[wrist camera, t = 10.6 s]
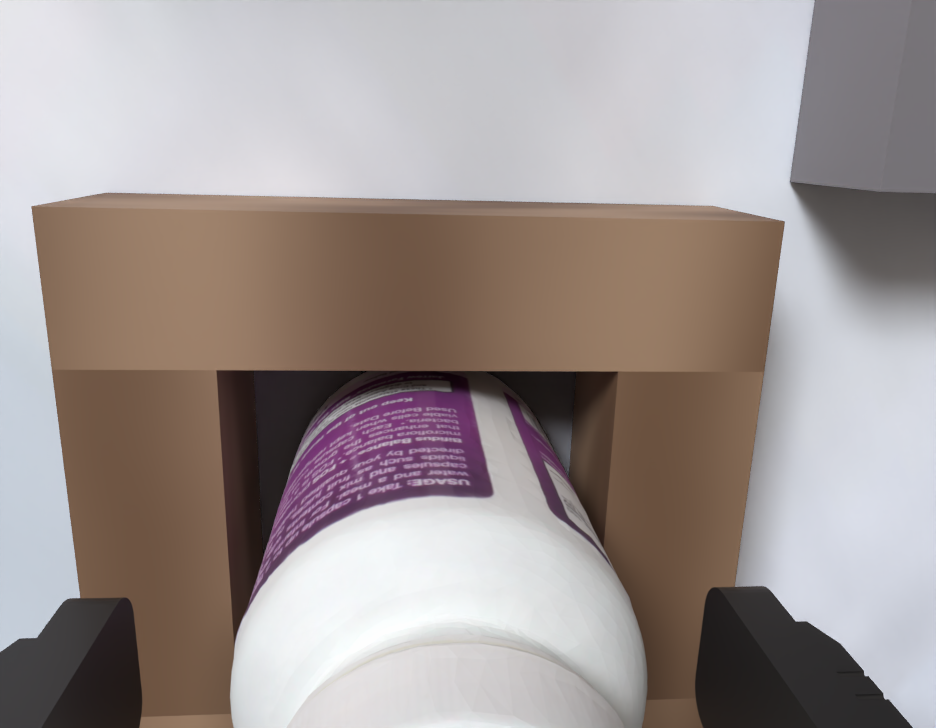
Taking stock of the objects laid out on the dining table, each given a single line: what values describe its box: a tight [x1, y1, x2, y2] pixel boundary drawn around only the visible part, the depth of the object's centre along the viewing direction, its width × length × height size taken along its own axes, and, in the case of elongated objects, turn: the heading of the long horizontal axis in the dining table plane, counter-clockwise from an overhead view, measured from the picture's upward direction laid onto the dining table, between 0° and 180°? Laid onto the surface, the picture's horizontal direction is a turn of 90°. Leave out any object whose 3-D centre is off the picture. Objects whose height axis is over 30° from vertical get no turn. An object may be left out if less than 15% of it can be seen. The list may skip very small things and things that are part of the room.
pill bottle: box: [230, 371, 647, 728], centre depth 12 cm, size 5×5×10 cm
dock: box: [32, 193, 785, 728], centre depth 15 cm, size 12×12×3 cm
